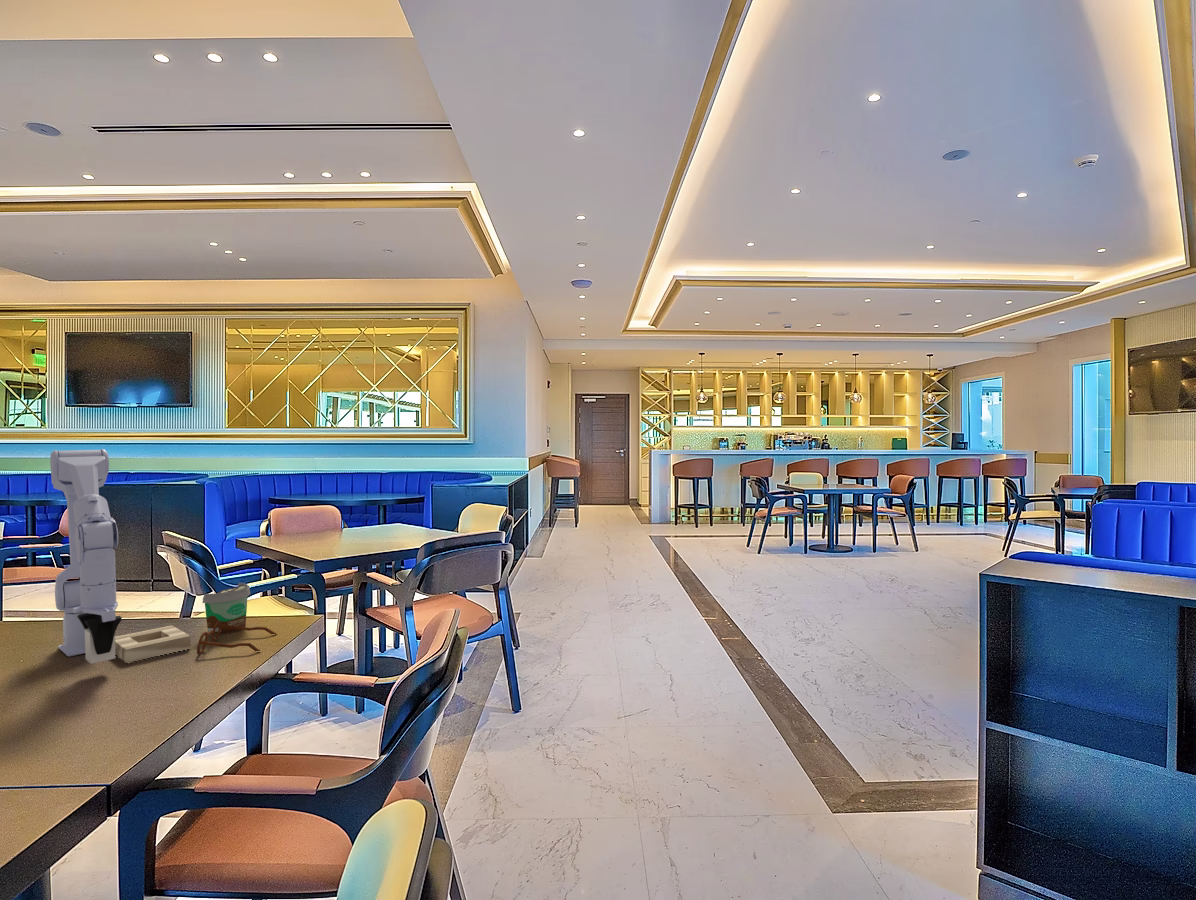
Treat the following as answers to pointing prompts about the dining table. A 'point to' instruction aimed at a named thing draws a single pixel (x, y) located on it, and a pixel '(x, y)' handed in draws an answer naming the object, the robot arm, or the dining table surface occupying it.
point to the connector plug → (91, 653)
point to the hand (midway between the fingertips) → (100, 650)
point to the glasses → (226, 644)
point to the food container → (227, 608)
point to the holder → (151, 643)
